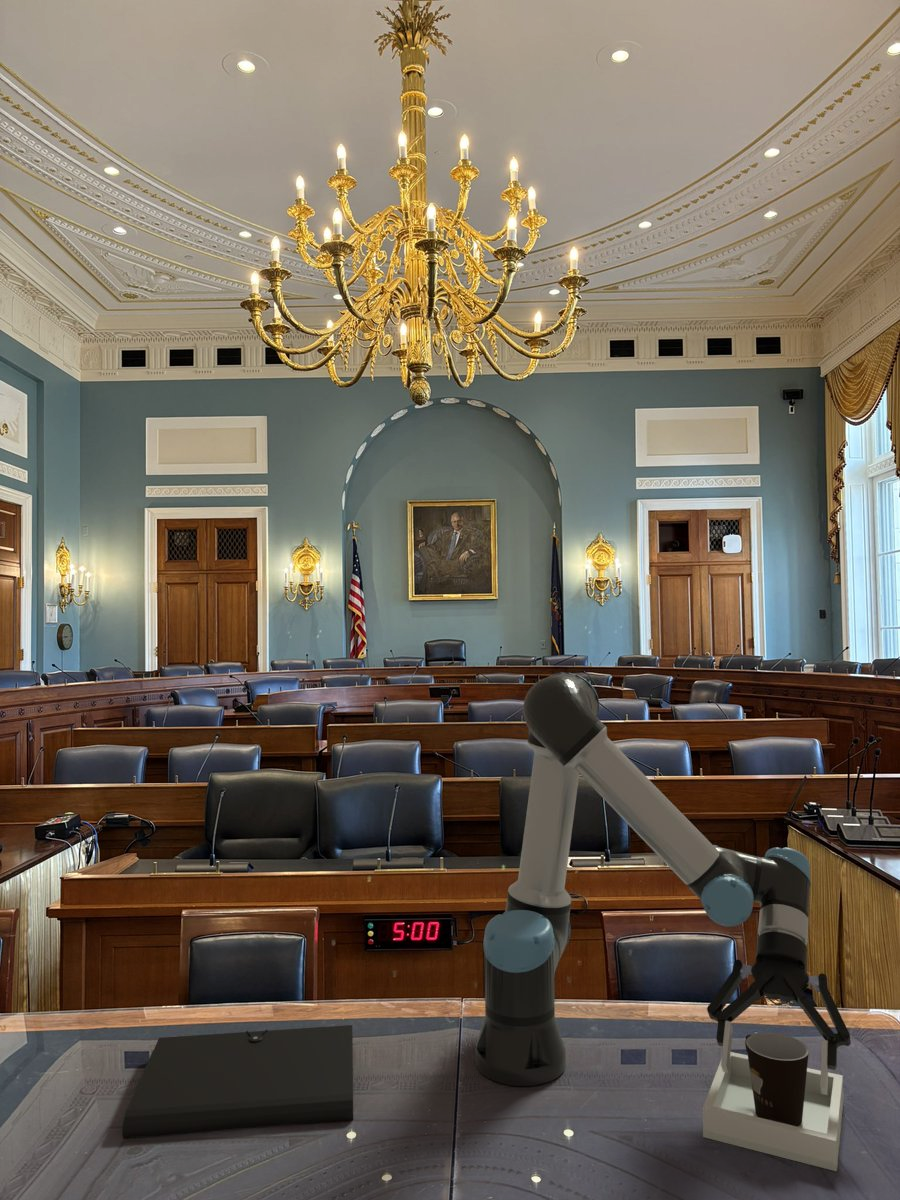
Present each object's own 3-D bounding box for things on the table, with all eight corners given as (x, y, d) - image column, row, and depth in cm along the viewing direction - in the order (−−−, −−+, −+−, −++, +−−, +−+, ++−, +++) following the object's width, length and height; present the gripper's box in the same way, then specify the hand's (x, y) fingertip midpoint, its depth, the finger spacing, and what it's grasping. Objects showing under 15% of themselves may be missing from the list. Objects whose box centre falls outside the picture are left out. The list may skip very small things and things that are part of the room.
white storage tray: (703, 1137, 122) (702, 1108, 122) (725, 1075, 138) (724, 1050, 138) (836, 1171, 114) (836, 1141, 114) (843, 1102, 130) (842, 1075, 130)
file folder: (352, 1022, 151) (353, 1100, 127) (352, 1045, 150) (353, 1128, 127) (159, 1034, 147) (122, 1117, 123) (159, 1059, 147) (122, 1146, 123)
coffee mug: (816, 1136, 120) (814, 1063, 120) (751, 1129, 122) (750, 1057, 122) (800, 1092, 131) (798, 1026, 132) (741, 1087, 133) (740, 1021, 133)
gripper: (869, 964, 135) (869, 1110, 121) (706, 939, 146) (690, 1070, 132) (867, 942, 130) (867, 1090, 116) (699, 918, 141) (681, 1050, 128)
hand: (773, 1080), depth 124 cm, fingers open, 13 cm apart
